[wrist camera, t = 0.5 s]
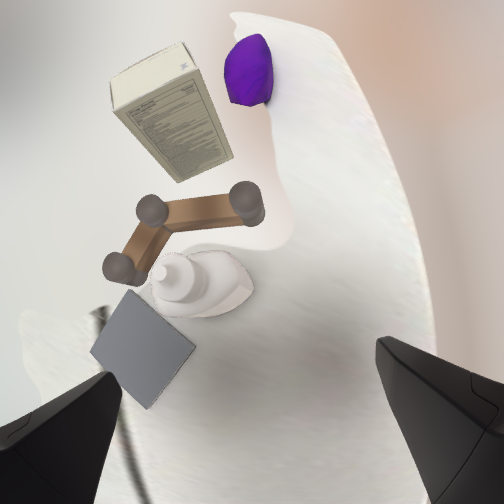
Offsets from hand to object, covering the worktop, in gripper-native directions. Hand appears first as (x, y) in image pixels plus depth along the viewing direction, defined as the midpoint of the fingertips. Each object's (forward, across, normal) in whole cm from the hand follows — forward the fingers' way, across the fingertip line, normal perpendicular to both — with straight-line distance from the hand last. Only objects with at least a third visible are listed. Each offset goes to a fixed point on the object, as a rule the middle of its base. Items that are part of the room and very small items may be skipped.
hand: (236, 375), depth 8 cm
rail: (+17, +5, -1) cm, 18 cm away
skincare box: (+21, +4, -9) cm, 23 cm away
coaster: (+13, +12, +7) cm, 19 cm away
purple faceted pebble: (+26, -3, -18) cm, 32 cm away
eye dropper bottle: (+15, +3, +3) cm, 16 cm away
